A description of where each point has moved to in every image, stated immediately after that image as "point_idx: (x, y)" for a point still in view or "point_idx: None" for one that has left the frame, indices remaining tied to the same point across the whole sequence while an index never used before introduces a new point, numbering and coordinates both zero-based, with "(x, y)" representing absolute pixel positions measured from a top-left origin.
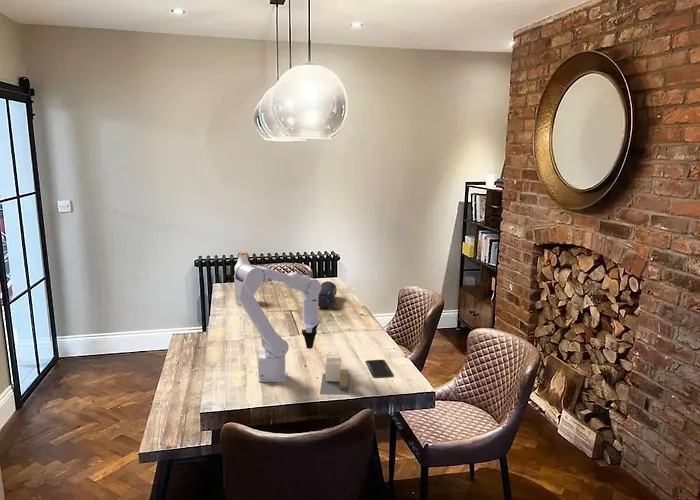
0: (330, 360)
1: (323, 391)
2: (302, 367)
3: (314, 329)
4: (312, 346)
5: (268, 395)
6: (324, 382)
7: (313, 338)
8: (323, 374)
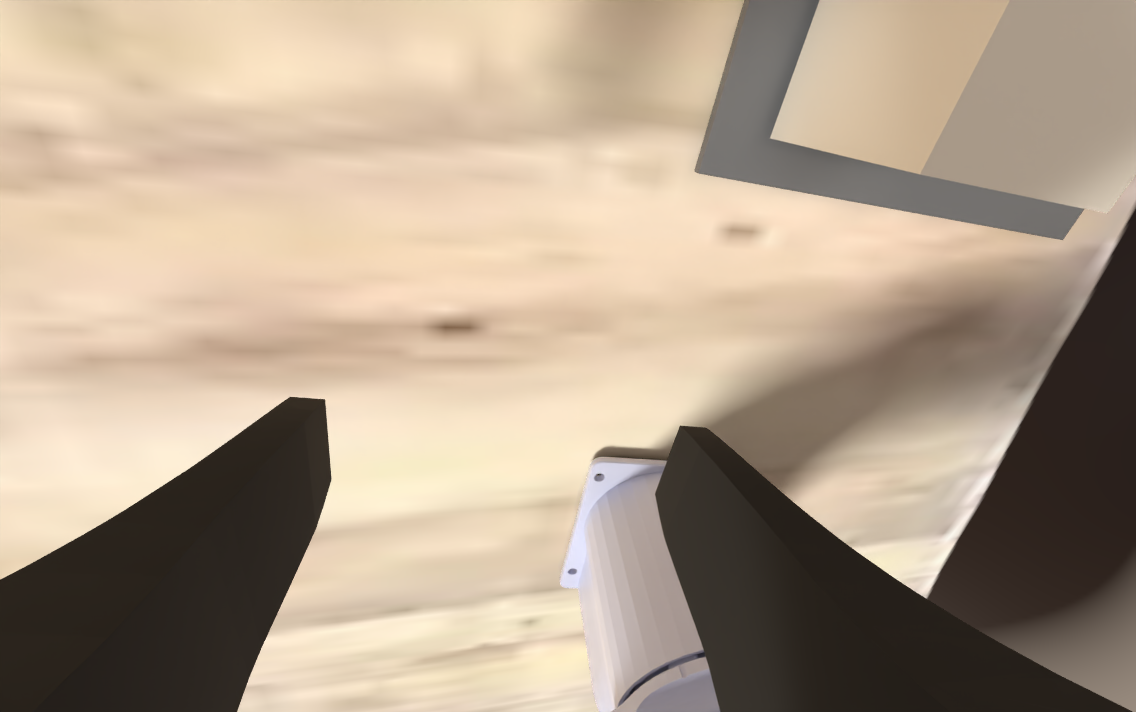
0: (1049, 115)
1: (1040, 203)
2: (496, 353)
3: (165, 643)
4: (731, 451)
5: (866, 523)
6: (892, 176)
7: (901, 600)
8: (720, 167)
